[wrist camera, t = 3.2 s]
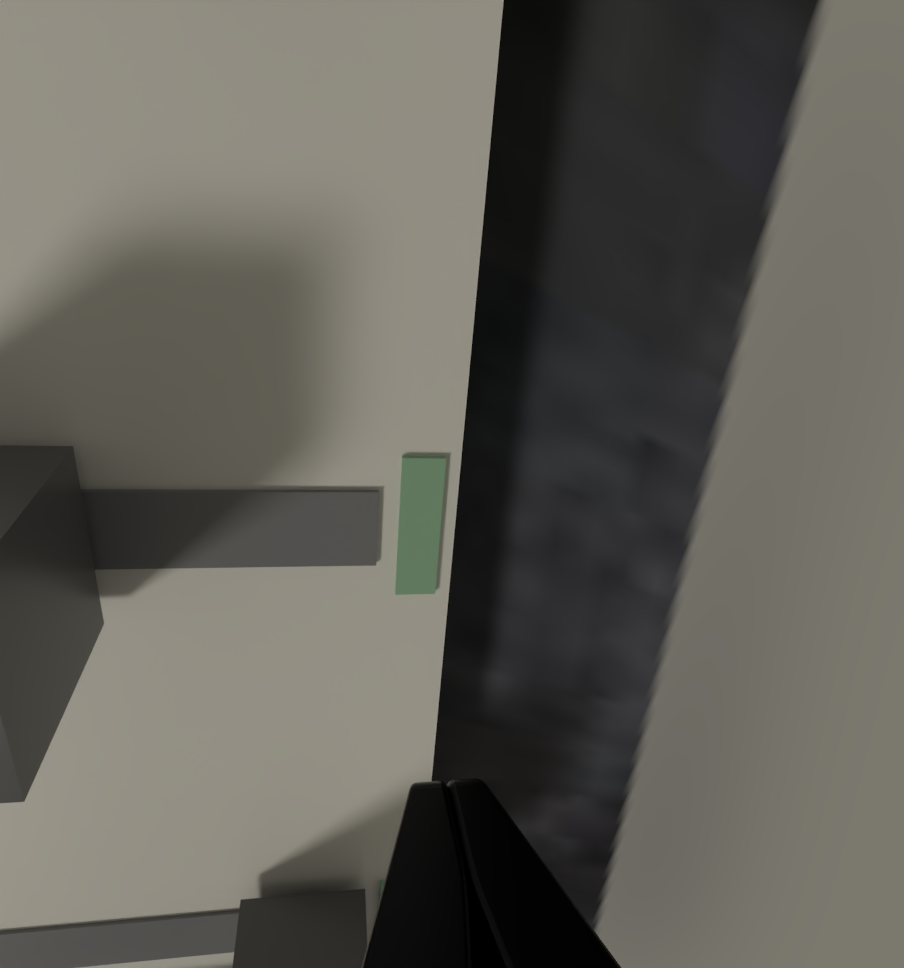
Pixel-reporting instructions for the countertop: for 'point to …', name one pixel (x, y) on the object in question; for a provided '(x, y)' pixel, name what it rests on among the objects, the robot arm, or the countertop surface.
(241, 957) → the block
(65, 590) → the block
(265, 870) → the switch panel
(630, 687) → the countertop surface
